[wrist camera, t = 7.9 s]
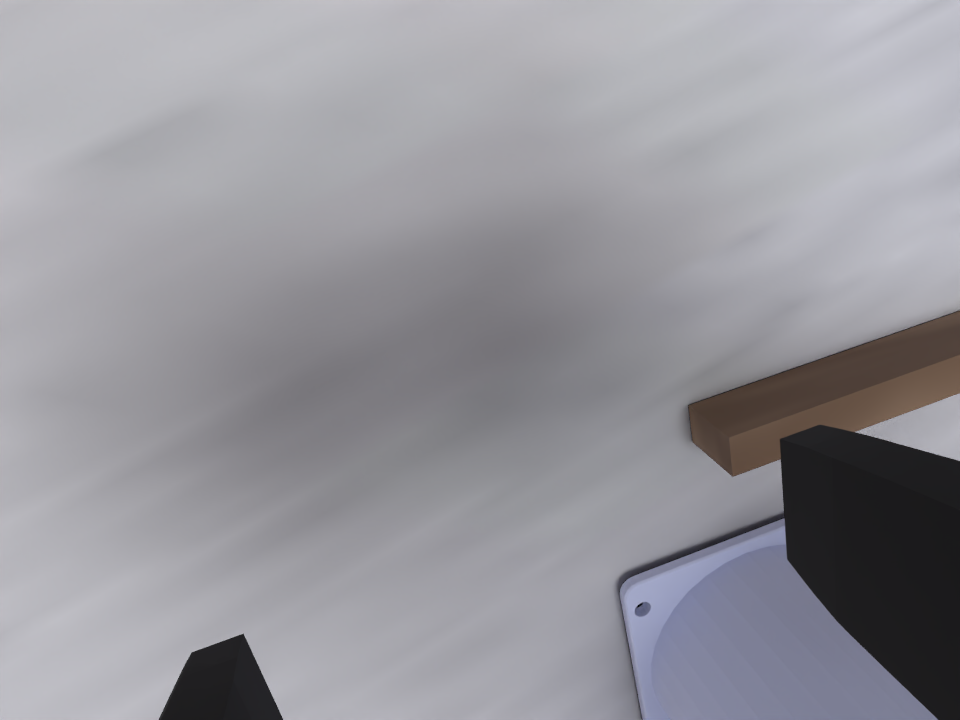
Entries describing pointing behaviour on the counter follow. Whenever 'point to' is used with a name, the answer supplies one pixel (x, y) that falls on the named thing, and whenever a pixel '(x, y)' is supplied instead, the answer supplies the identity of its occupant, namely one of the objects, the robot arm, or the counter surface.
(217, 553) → the counter surface
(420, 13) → the counter surface
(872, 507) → the robot arm
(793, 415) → the bay
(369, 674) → the counter surface
